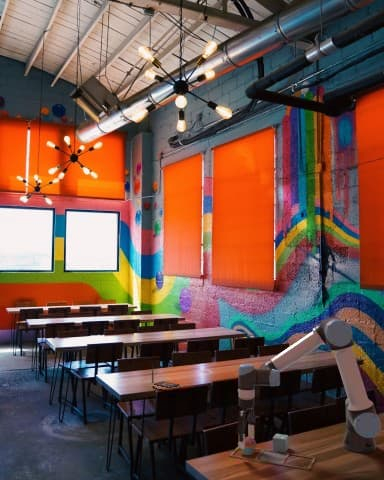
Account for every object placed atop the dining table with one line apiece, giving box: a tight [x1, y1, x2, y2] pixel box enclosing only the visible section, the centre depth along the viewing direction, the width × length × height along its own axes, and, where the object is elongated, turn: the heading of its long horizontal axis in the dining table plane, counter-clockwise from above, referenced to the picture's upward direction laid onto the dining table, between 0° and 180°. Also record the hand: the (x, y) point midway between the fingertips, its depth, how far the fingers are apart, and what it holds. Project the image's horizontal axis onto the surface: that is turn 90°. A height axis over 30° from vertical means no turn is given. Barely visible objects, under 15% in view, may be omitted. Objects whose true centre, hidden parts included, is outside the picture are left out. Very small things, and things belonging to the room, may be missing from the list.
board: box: [228, 445, 317, 471], centre depth 215 cm, size 14×37×1 cm, turn 64°
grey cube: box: [272, 433, 289, 453], centre depth 225 cm, size 6×6×6 cm
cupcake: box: [237, 429, 257, 456], centre depth 220 cm, size 9×8×12 cm
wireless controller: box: [151, 364, 180, 388], centre depth 342 cm, size 20×14×17 cm
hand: (246, 443), depth 220 cm, fingers open, 13 cm apart
